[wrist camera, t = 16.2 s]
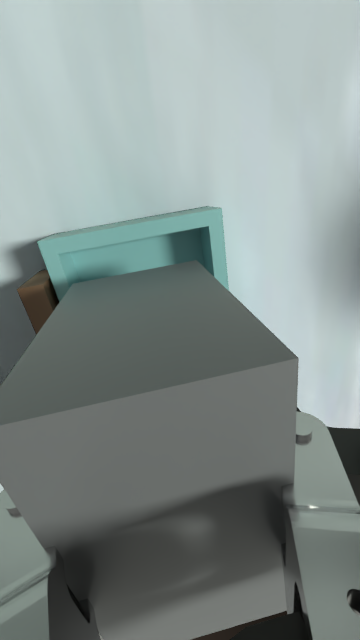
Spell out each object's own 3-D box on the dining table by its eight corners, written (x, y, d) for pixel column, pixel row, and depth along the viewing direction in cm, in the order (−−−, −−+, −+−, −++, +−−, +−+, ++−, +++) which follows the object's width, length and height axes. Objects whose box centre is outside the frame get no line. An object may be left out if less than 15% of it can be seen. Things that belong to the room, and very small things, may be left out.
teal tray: (206, 206, 13) (221, 208, 11) (226, 386, 18) (239, 412, 16) (54, 233, 13) (36, 241, 11) (114, 411, 18) (111, 443, 15)
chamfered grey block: (196, 260, 10) (298, 357, 4) (217, 418, 14) (289, 609, 7) (72, 283, 10) (-34, 433, 4) (125, 440, 13) (117, 661, 7)
